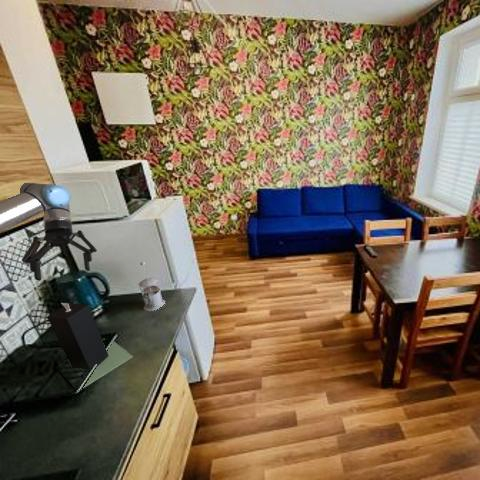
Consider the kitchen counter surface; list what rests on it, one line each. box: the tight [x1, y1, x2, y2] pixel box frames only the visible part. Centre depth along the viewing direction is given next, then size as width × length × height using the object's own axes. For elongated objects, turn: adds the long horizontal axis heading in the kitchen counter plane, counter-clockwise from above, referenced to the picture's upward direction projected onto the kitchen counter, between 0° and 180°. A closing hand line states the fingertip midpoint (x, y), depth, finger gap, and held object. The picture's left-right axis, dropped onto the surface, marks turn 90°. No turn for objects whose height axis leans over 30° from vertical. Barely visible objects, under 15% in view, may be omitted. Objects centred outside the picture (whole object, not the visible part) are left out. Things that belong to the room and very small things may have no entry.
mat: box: [83, 341, 134, 389], centre depth 103 cm, size 20×18×1 cm
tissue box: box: [46, 302, 109, 369], centre depth 97 cm, size 8×8×28 cm
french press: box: [138, 261, 166, 312], centre depth 132 cm, size 10×12×25 cm
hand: (63, 274), depth 96 cm, fingers open, 13 cm apart
